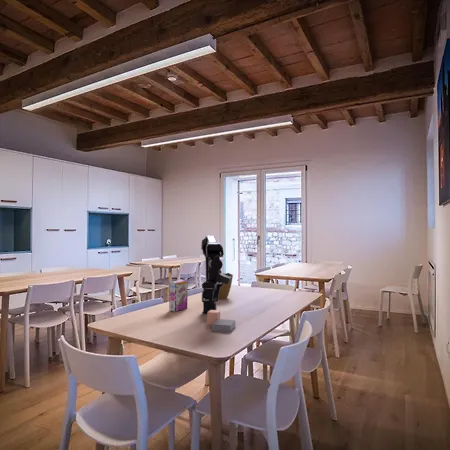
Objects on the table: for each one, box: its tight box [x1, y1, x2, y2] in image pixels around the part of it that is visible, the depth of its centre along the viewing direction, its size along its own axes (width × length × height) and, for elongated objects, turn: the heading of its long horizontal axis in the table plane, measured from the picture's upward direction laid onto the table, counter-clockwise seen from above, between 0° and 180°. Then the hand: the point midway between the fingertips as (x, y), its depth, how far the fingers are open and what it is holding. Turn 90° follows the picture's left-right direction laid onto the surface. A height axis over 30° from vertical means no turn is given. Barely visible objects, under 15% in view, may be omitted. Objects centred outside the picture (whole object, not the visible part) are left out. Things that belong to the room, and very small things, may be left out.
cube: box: [206, 309, 221, 326], centre depth 163 cm, size 5×5×6 cm
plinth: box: [210, 318, 236, 333], centre depth 154 cm, size 9×9×3 cm
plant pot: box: [218, 272, 234, 300], centre depth 222 cm, size 15×15×16 cm
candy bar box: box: [168, 279, 189, 313], centre depth 191 cm, size 11×5×16 cm, turn 149°
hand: (214, 300), depth 163 cm, fingers open, 9 cm apart
